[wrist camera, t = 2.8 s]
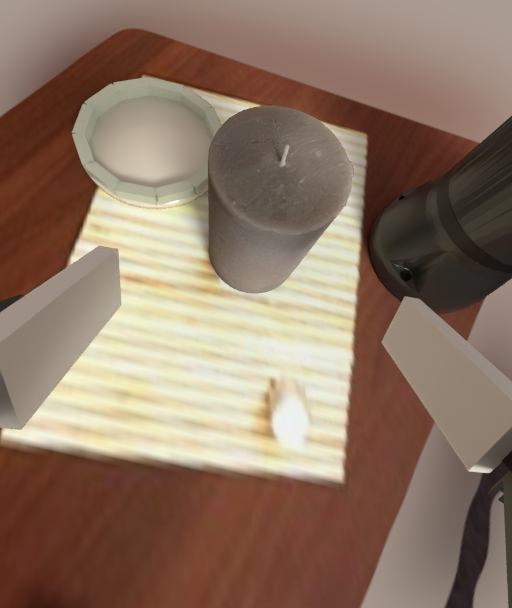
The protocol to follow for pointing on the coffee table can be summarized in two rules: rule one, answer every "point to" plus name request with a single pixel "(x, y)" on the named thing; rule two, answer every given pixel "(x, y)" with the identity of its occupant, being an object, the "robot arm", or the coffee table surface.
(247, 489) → the coffee table surface
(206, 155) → the candle plate
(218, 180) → the pillar candle
